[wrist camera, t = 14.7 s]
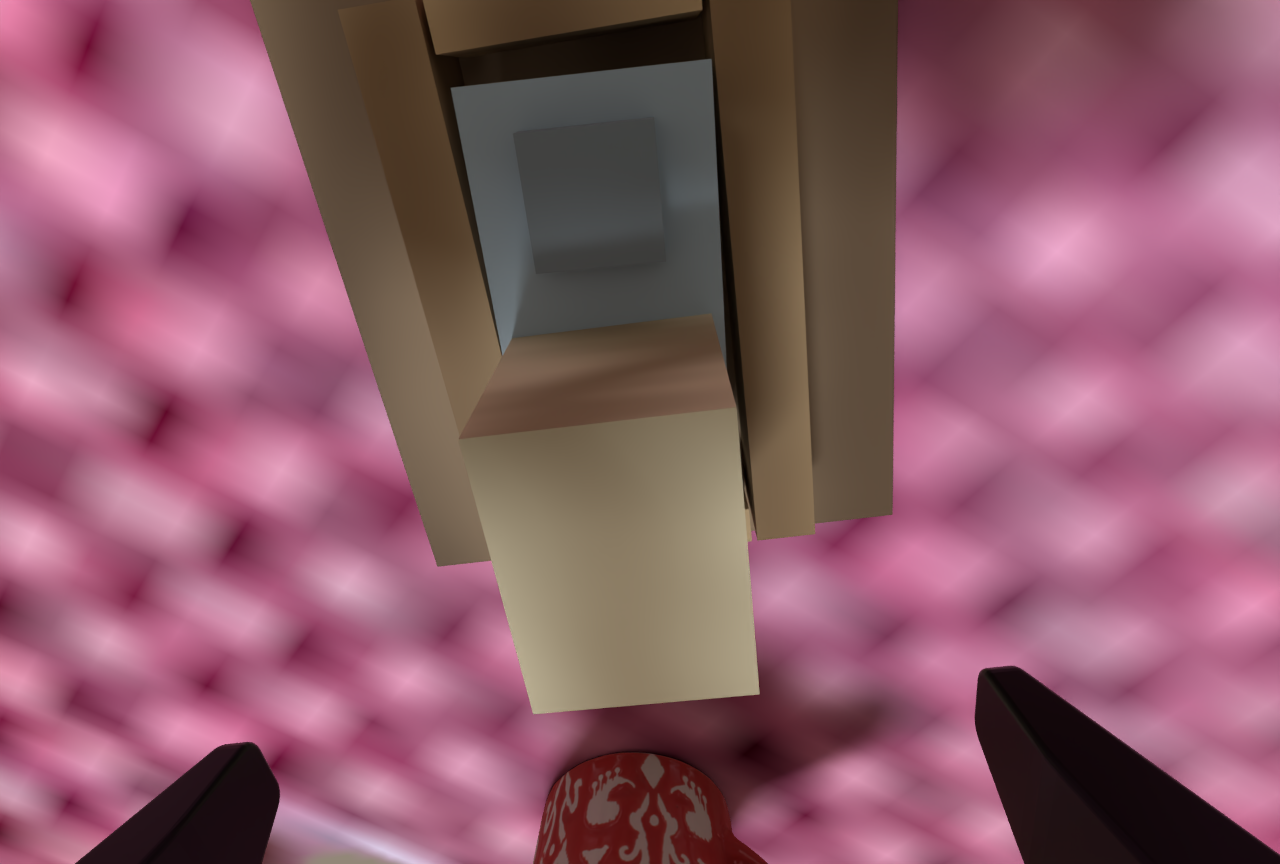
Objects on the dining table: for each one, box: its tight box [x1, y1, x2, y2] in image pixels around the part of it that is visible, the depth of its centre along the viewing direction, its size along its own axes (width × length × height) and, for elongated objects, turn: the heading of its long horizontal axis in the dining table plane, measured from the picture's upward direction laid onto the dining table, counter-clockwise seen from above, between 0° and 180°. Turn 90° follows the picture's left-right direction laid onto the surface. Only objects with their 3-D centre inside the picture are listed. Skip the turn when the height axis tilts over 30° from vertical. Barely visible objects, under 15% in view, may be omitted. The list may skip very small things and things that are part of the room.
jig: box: [250, 0, 898, 566], centre depth 18 cm, size 14×16×3 cm
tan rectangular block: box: [458, 313, 760, 714], centre depth 13 cm, size 4×6×4 cm
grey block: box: [451, 59, 727, 370], centre depth 16 cm, size 4×10×5 cm, turn 6°
